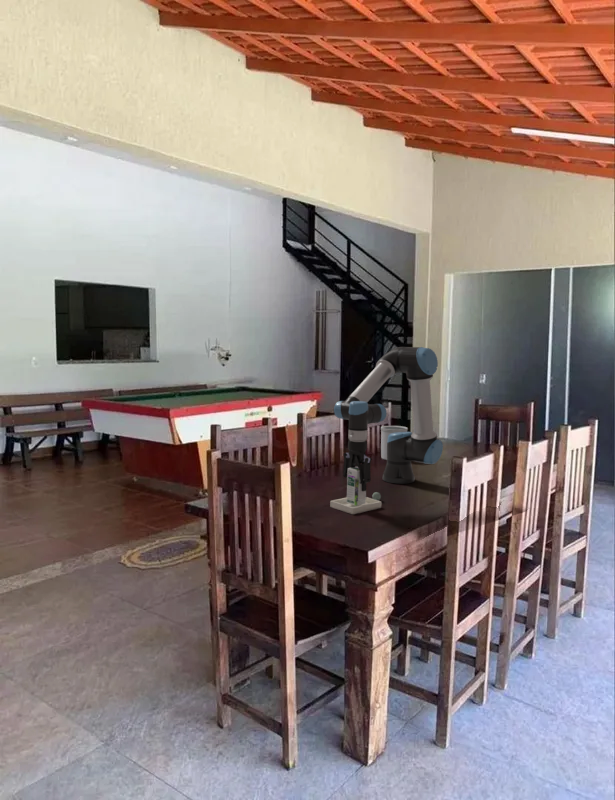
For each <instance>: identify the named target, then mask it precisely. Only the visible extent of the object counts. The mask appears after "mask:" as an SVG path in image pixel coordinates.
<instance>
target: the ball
mask: <svg viewBox="0 0 615 800" xmlns="http://www.w3.org/2000/svg"><path fill="white" fill-rule="evenodd" d="M371 497H372V498H371V499H374V500H378V501H380V500H381V497H382V495H381V493H380V492H377V491H376V492H373V494H372V495H371Z"/></svg>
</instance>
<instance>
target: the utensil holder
mask: <svg viewBox="0 0 615 800" xmlns="http://www.w3.org/2000/svg"><path fill="white" fill-rule="evenodd" d="M380 430H381V431H380V432H381V434H380V435H381V437H380V439H381V440H380V442H381V443H380V456H381V459H382V460H386V461H387V441H388V435H389V434H391V433H396V432H408V430H409V428H408V427H406V426H403V425H402V426H401V425H384V426H383V425H382V426H381V427H380Z"/></svg>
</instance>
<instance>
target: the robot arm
mask: <svg viewBox="0 0 615 800" xmlns="http://www.w3.org/2000/svg"><path fill="white" fill-rule="evenodd" d="M438 364H439V362H438V357H437V354H436V353H435V351H434V350H433V349H432V348H428V347H422V346H421V347H420V346H419V347H417V346H399V347H396V348H393V349H391V350H390V351H388V352H386V353H385V354H384V355H382V357H380V358H379V360H378V361H377V362H376V364H375V367H374V369H373V370H372V371H371V372H369V374H368V375H367V376H366V377H365V378H364V379H363V381H362V382H361V383H360V384H359V385H358V386H357V387H356V388H355V389H354V391H353V392H352V393H350V394H349V396H348V397H347V398H346V399H345V400H339V401H337V402H336V403H335V405H334V407H333V414H334V416H335V417H336V418H338V419H342V420H345V421H346V420H348V437H347V438H348V442H347V448H348V452H344V453H343V475H342V476H343V477H344V478H346V480H347V471H348V468H352V467H358V469H359V471H360V480H361V482H360V483H359V499H365V491H366V492H367V484H368V483H371V481H372V480H371V479H372V478H371V477H372V475H371V463H372V457H368V456H367V454H366V451H367V449H368V441H367V440H368V425H369V424H371V425H372V424H377V423H380V422H383V421H384V420H385V419H387V414H388V413H387V409H386V407H385V406H384V405H383V404H381V403H374V404H373V403H371V404H370V403H368V402H369V401H370V400H371V399H372V398H373V396H374V395H375V394H376V393H377V392H378V391H379V390H380V388H381V387H382V386H383V385H384V384H385V383H386V382H387V381H388V380H389V379H390V378H392V377H394V376H395V375H396V374H398V373H400V374H401V373H403V374H406V375H405V376H406V379H407V381H409V382H410V393H411V408H412V419H413V420H412V422H413V432H412V431H407V432H396V433H391V434H389V435H388V441H387V460H386V464H385V467H384V470H383V473H382V480H383V481H384V482H385V483H390V484H391V483H392V484H397V485H398V484H400V485H401V484H402V485H403V484H404V485H405V484H406V485H407V484H412V483H414V482H415V478H416V477H415V474H414V471H413V466H412V462H416V463H421V464H425V465H427V464H428V465H435V464H436V463H438V462H439V460H440V458H441V456H442V454H443V450H444V449H443V448H444V446H443V442H442V440H441V439H438V434H437V432H436V431H435V430H434V426H433V425H434V424H433V423H434V421H433V408H432V407H433V406H432V394H431V392H432V390H431V379H432V378H433V377H434V374H435V373H436V372H437V369H438V368H437V367H438Z"/></svg>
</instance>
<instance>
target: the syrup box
mask: <svg viewBox="0 0 615 800" xmlns="http://www.w3.org/2000/svg"><path fill="white" fill-rule="evenodd" d="M346 474H347V479H346V497H347V503H349V504H352V505H355V506H358V505H362V504H365V503H366V497H367V490H366V491H365V499H359V483H360V482H361V480H360V471H359V469H358V466H355V467H352V468H348V471H347V473H346Z"/></svg>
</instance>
